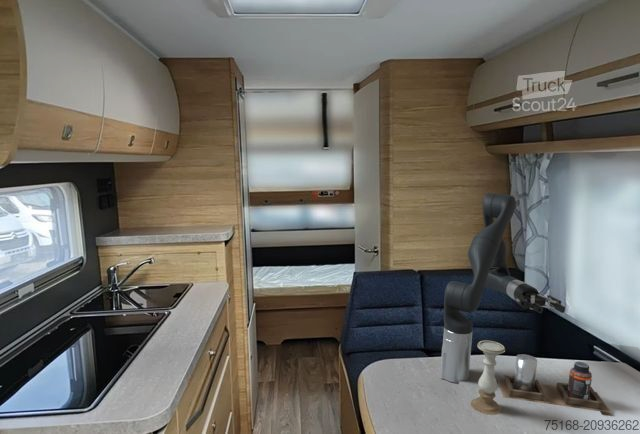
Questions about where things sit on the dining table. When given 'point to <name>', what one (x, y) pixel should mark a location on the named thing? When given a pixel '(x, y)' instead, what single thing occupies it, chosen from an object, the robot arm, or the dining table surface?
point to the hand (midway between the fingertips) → (553, 310)
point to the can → (525, 373)
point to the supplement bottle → (579, 381)
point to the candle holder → (488, 379)
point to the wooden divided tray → (553, 395)
